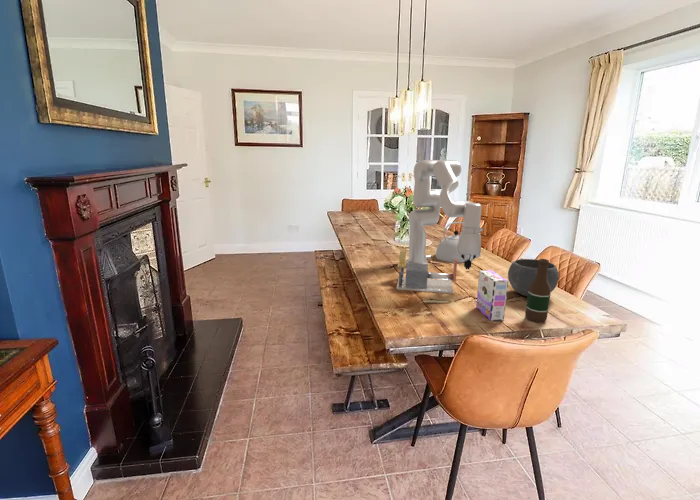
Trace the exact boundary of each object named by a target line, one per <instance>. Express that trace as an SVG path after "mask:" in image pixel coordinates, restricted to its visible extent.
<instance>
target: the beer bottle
mask: <svg viewBox="0 0 700 500" xmlns="http://www.w3.org/2000/svg"><path fill="white" fill-rule="evenodd" d="M538 260H539V261H538V262H539V265H538V269H537V274H536V278H535V280H534V281H533V282H532V283H531V285H530V287H529V290H528V296H526V299H527V300H526V305H525V313H524V314H525V315H524V318H526V319H527V320H528V322H529V321H530V322H533V323H536V324H539V323H543V324H544V323H545V322H546V321H547V320H548V319H547V318H548V315H549V308H550V302H551V301H550V299H551V293H552V292H551V287H550V284H549V283H548V281H547V273H548V264H549V263H550V260H549V259H547V258H540V259H538Z"/></svg>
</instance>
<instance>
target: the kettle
mask: <svg viewBox="0 0 700 500" xmlns="http://www.w3.org/2000/svg"><path fill="white" fill-rule="evenodd" d="M455 224H462V225H463V221H453V222H451V223H449V224H447V225H446V227H445V228H444V230H443V239H442V240H441V241H440V242H439V243H438V244H437V247H436V251H435V258H436V259H437V260H439V261H443V262H448V263H454V259H457V264H459V263H461V264H462V263H463V264H464V261H465V260H464V259H463V258H462V257H460V256H457V247H458V240H459V231H458V230H454V231H453V235H449V236H446V230H447V229H448V228H449V227H450V226H451V225H455ZM463 255H464V254H463ZM469 257H470V255H467V259H468V260H469ZM473 261H474V259H473V260H472V262H473Z"/></svg>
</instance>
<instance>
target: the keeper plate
mask: <svg viewBox="0 0 700 500" xmlns="http://www.w3.org/2000/svg"><path fill="white" fill-rule="evenodd" d="M406 253H407V251H406V250H399V261H398V262H397V268H400V269H401V268H404V269H406V267H407V263H406V260H407V259H406V258H407V257H406V256H407V255H406Z"/></svg>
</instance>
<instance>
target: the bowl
mask: <svg viewBox="0 0 700 500" xmlns="http://www.w3.org/2000/svg"><path fill="white" fill-rule="evenodd" d="M538 261H539V259H532V258H520V259H516V260H514V261H512V263H511V264H510V266H509V268H508V270H507V280H508V283H509V285H510V286H511V288H512V289H513V290H514V291H515V292H517V294H519V295H522V296H525V297H528V290H529V287H530V285H531V283H532V282H533V281H534V280H535V278H536V274H537V269H538V265H539V262H538ZM559 278H560V275H559V269H558V268H557V266H556V265H555V264H554V263H552V262H549V264H548V273H547V281H548V283H549V284H550V287H551V293H552V292H553V291H554V290H555V288H557V285H558V283H559Z"/></svg>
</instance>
